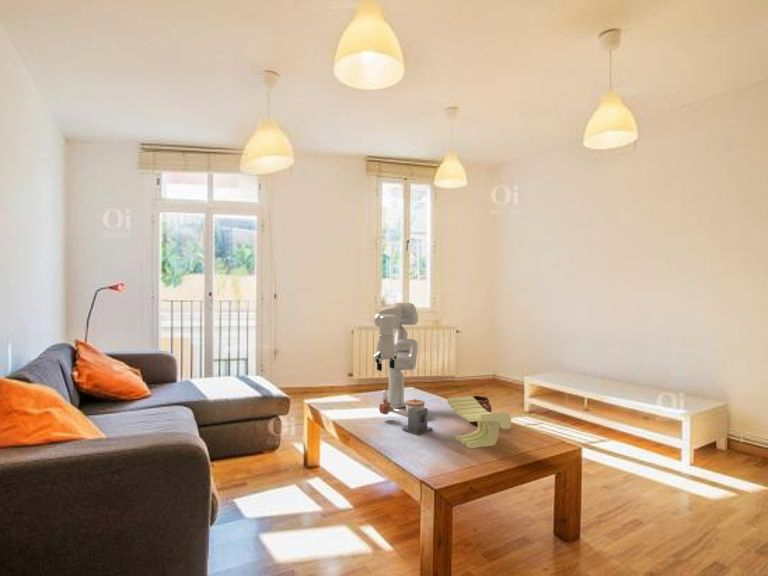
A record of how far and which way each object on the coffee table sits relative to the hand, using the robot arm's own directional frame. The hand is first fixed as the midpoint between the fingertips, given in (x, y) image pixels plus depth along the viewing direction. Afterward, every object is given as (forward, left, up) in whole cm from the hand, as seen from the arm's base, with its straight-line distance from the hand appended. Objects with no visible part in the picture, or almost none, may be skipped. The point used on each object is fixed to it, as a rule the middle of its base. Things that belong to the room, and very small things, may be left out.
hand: (385, 369), depth 247 cm
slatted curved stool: (+54, +9, -28) cm, 62 cm away
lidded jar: (+6, +18, -28) cm, 34 cm away
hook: (+9, 0, -25) cm, 26 cm away
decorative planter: (+39, +33, -28) cm, 58 cm away
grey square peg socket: (+24, 0, -28) cm, 37 cm away
